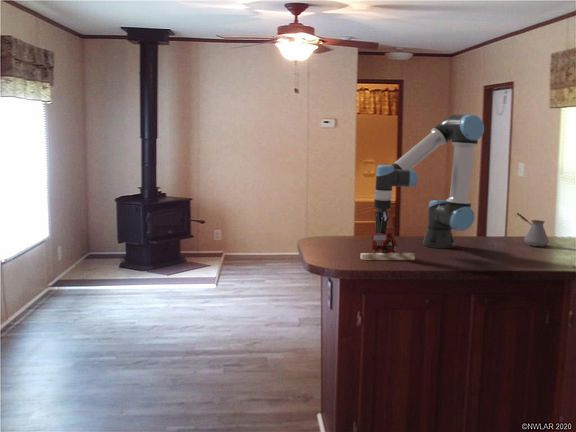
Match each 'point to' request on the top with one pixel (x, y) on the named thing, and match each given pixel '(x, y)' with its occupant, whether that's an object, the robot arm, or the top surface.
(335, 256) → the top surface
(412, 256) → the beige long bar
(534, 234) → the coffee pot
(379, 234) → the toy fire truck
